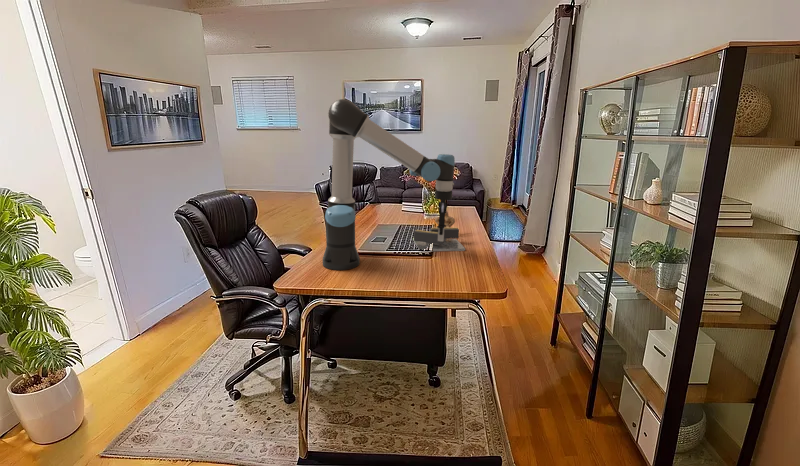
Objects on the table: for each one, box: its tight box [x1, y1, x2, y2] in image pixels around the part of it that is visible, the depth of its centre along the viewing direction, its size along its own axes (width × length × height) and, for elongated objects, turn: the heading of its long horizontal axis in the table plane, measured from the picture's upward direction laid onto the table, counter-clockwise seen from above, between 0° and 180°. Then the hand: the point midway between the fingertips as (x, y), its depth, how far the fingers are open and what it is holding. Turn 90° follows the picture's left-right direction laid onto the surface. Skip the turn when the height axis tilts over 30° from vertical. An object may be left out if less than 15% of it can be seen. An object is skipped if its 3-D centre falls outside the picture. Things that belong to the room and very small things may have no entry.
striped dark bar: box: [413, 229, 444, 244], centre depth 179 cm, size 3×14×6 cm, turn 70°
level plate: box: [412, 237, 466, 252], centre depth 181 cm, size 22×16×2 cm
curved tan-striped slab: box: [429, 227, 460, 240], centre depth 186 cm, size 3×14×6 cm, turn 97°
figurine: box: [434, 210, 456, 228], centre depth 199 cm, size 11×9×15 cm
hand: (440, 240), depth 172 cm, fingers closed
